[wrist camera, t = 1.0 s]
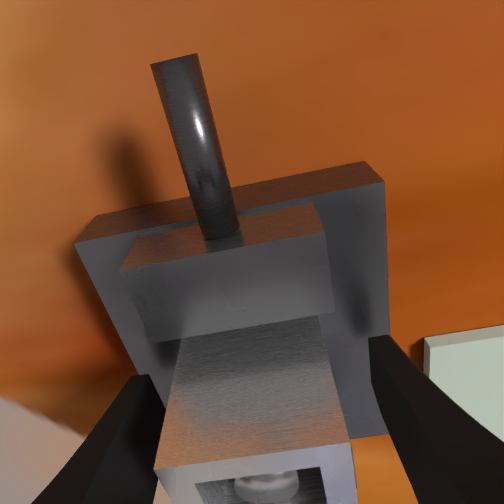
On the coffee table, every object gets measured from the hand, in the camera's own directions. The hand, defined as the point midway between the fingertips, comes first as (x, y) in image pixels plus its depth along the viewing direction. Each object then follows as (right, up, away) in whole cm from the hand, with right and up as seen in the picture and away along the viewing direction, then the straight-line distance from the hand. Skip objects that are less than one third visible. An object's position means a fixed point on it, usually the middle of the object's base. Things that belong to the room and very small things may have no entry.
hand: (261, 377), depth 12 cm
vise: (0, +3, +2) cm, 4 cm away
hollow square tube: (0, +1, +1) cm, 1 cm away
